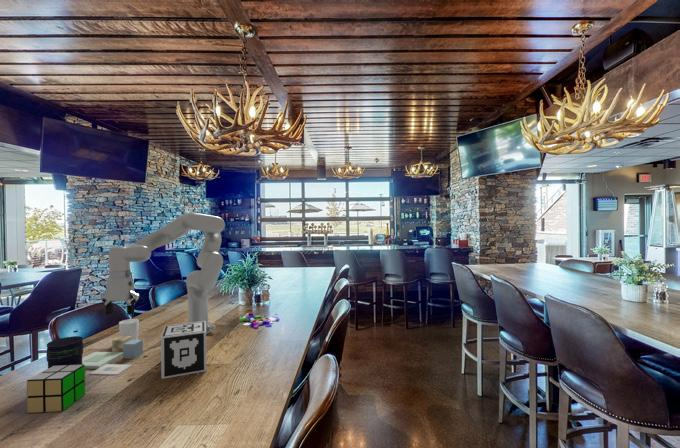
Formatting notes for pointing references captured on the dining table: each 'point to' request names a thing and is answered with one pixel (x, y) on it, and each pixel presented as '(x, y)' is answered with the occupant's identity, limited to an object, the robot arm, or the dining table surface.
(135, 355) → the slate block
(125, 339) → the maple block
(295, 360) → the dining table surface
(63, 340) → the storage jar
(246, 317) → the flower wreath
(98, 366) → the board
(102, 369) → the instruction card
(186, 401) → the dining table surface
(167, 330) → the block
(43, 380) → the puzzle cube
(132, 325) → the white cup
